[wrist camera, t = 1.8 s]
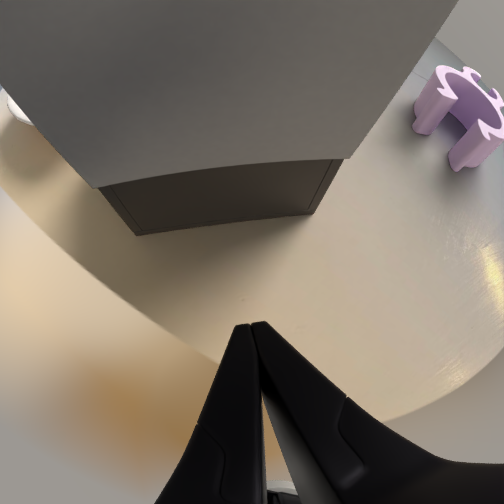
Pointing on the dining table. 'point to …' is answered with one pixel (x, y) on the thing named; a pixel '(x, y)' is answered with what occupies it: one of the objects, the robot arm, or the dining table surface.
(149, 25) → the box lid
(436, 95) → the clip
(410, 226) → the dining table surface
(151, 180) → the grey hinged lid box
